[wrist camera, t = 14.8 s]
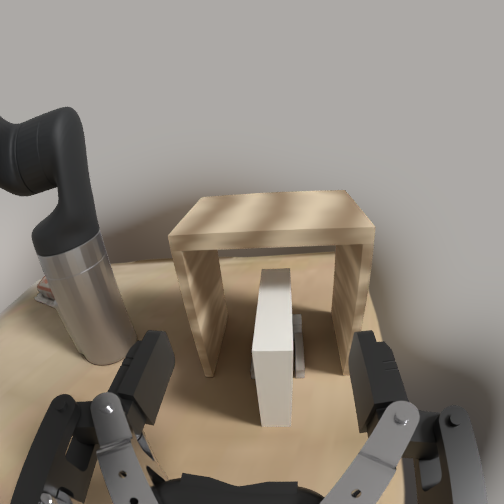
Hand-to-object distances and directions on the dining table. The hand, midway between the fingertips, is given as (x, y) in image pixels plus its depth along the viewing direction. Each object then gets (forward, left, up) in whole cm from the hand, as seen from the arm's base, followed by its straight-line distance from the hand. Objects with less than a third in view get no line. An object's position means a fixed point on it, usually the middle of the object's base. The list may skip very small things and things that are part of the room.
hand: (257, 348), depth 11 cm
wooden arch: (0, +19, -19) cm, 26 cm away
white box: (0, +12, -19) cm, 22 cm away
